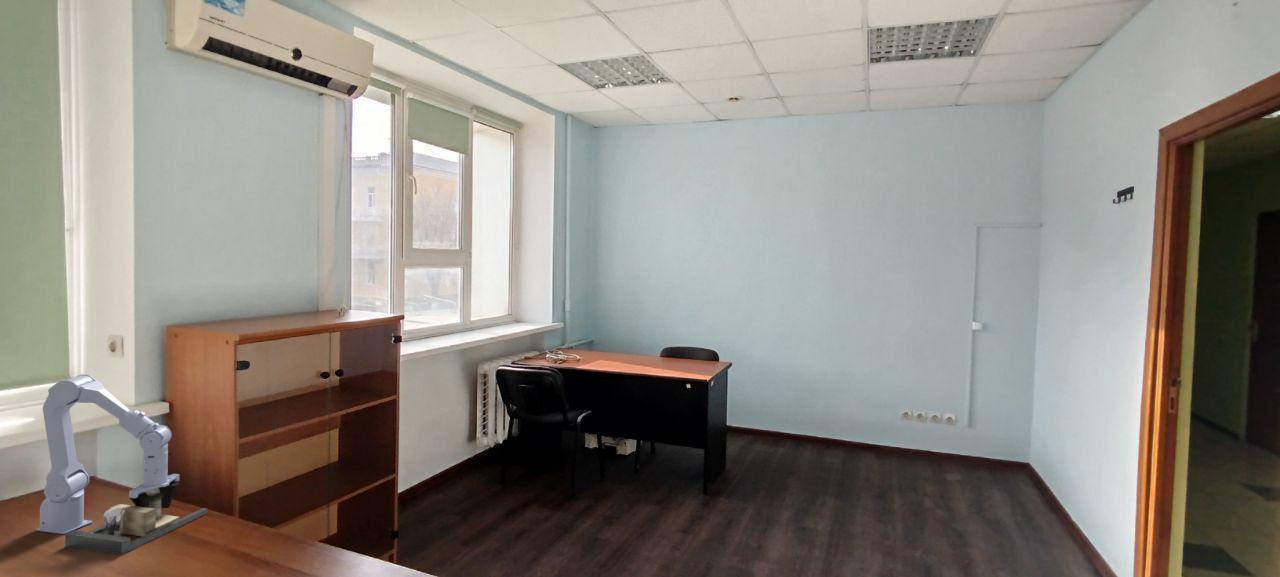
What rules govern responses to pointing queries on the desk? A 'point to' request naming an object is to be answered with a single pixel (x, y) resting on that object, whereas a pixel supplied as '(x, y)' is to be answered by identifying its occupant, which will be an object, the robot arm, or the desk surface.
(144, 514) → the clamp jaw
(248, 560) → the desk surface
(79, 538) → the grey tray
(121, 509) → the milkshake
